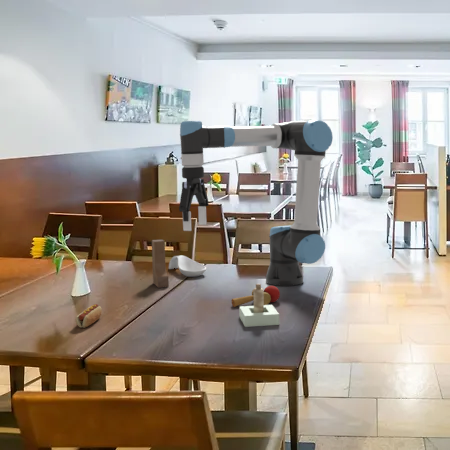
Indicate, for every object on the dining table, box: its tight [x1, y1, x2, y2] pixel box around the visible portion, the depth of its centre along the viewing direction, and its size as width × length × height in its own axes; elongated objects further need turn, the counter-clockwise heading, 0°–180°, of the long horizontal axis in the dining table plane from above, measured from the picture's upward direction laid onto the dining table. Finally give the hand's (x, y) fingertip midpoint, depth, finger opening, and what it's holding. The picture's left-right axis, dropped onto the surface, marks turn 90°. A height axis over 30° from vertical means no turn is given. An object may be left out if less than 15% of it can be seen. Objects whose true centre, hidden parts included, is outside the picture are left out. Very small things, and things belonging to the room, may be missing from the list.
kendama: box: [231, 285, 281, 308], centre depth 219 cm, size 8×6×18 cm
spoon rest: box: [168, 254, 207, 278], centre depth 271 cm, size 24×12×7 cm, turn 34°
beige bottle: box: [252, 283, 264, 313], centre depth 199 cm, size 3×3×12 cm
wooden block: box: [151, 239, 170, 289], centre depth 249 cm, size 9×4×18 cm, turn 19°
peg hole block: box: [238, 304, 280, 328], centre depth 202 cm, size 11×16×4 cm
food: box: [75, 303, 103, 329], centre depth 201 cm, size 14×6×5 cm, turn 170°
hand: (195, 227), depth 215 cm, fingers open, 13 cm apart
